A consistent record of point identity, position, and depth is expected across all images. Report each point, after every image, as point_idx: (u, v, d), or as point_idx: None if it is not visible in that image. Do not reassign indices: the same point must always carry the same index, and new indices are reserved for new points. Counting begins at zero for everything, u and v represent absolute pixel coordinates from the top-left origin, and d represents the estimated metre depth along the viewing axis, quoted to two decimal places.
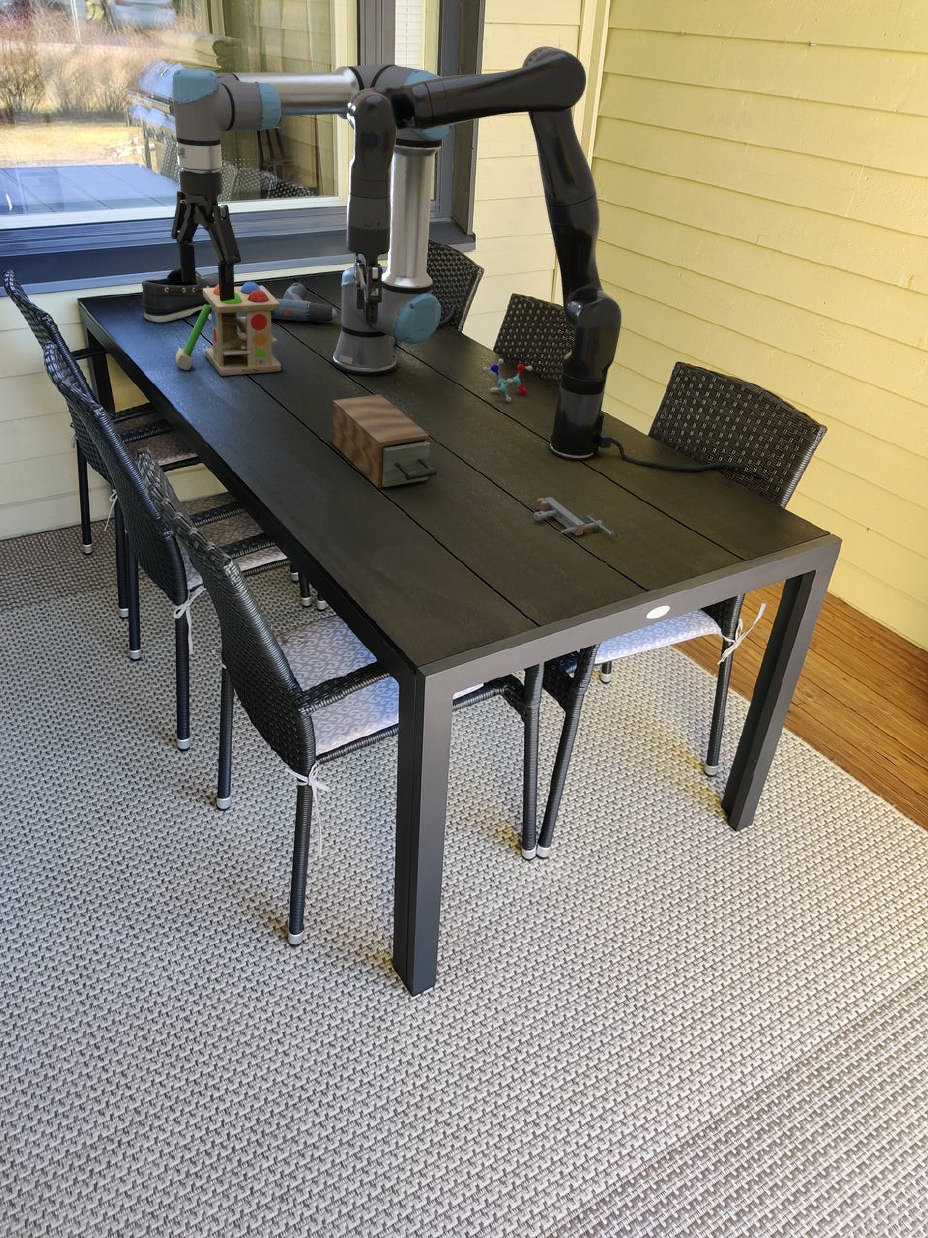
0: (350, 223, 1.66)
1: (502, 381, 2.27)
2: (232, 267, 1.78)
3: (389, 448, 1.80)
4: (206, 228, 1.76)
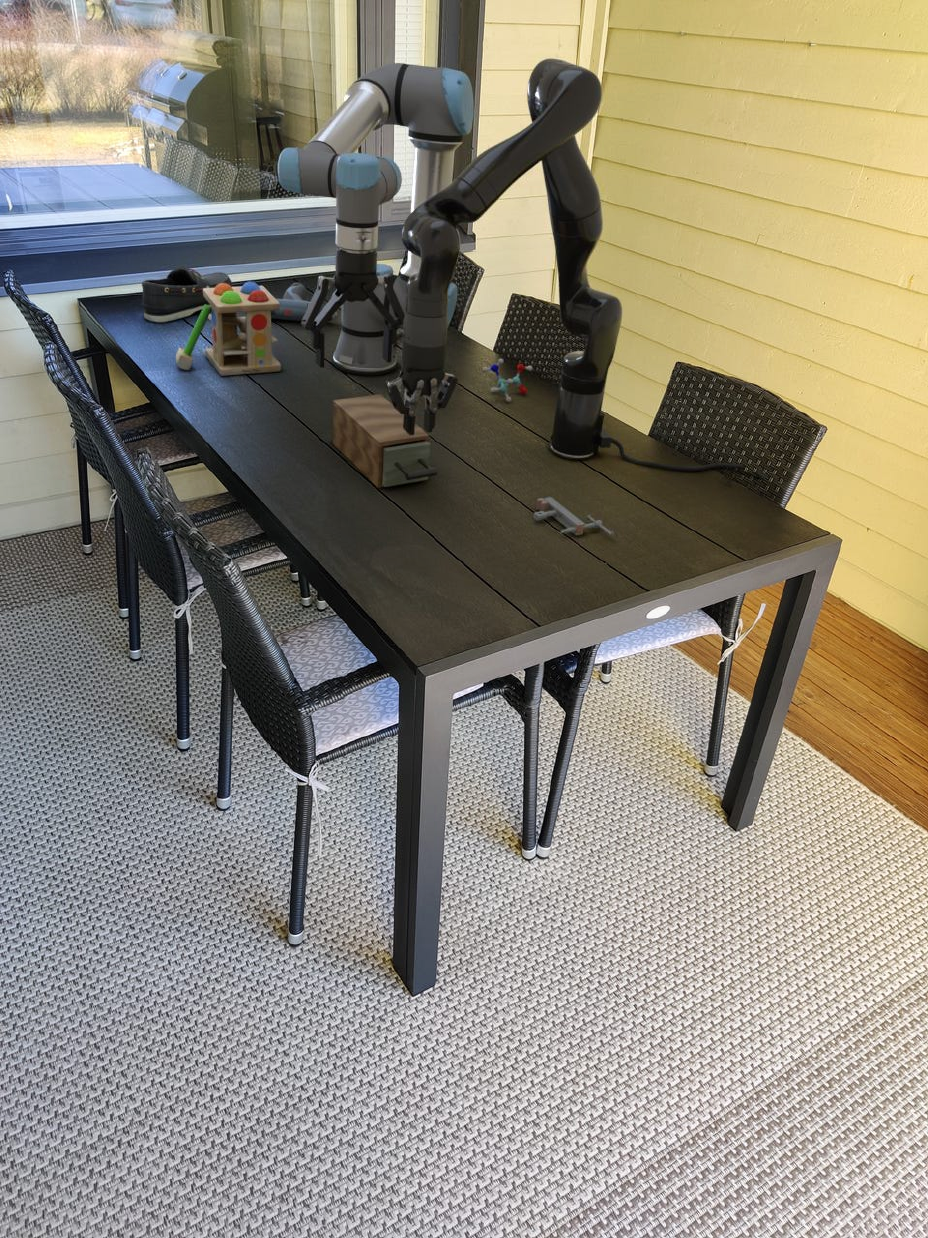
0: None
1: (502, 381, 2.27)
2: None
3: (389, 448, 1.80)
4: (376, 301, 1.83)
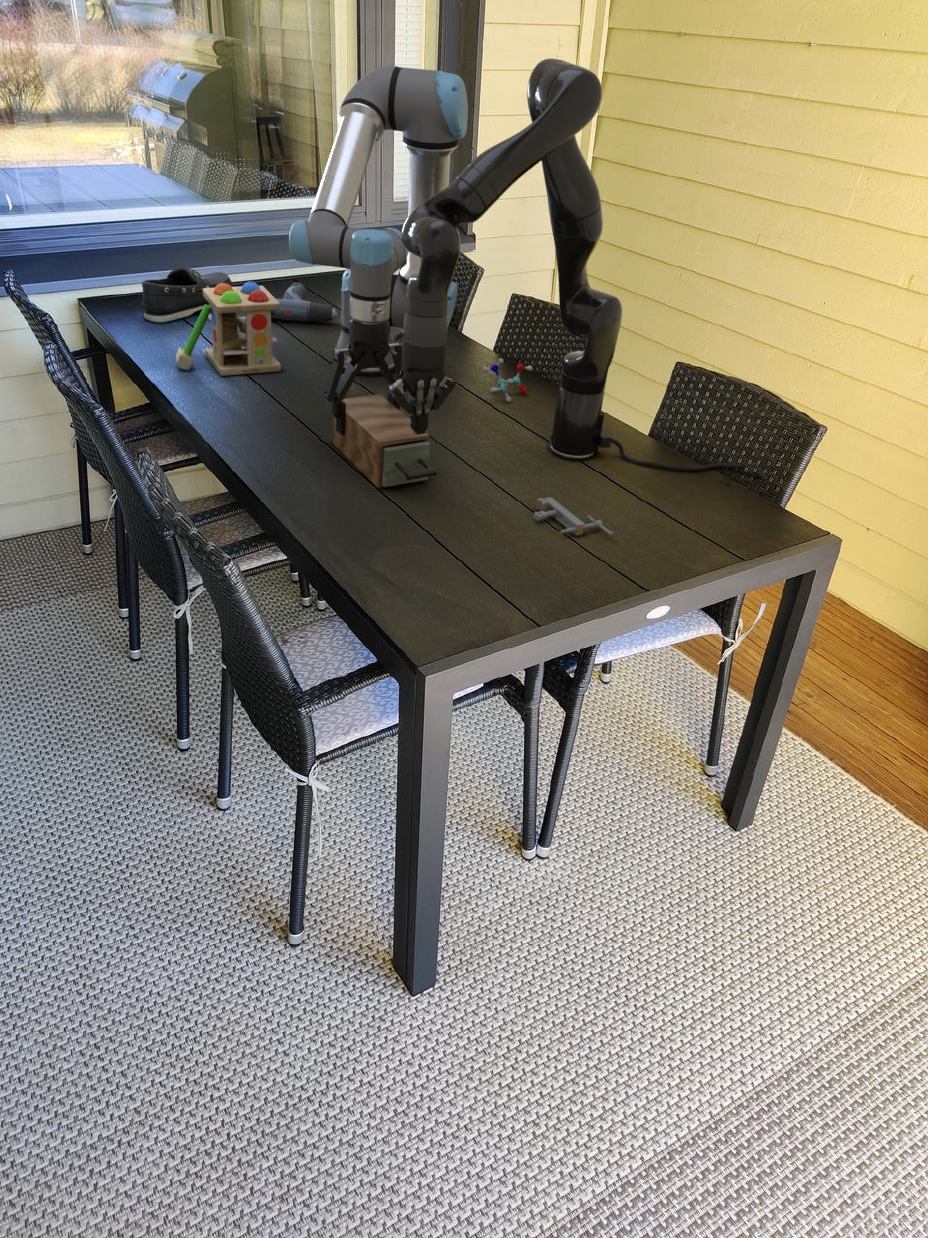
0: None
1: (502, 381, 2.27)
2: None
3: (389, 448, 1.80)
4: (386, 368, 1.90)
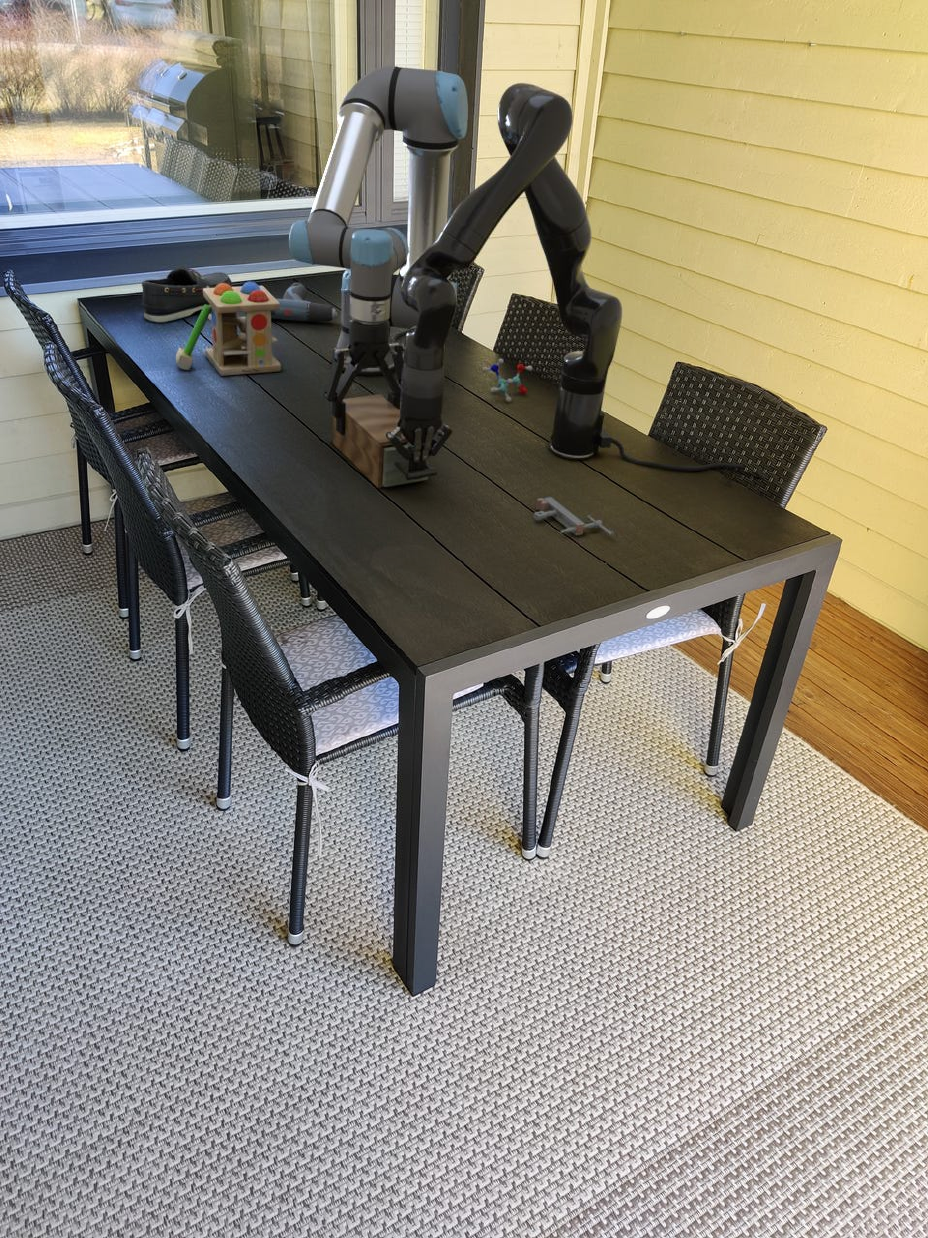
0: None
1: (502, 381, 2.27)
2: None
3: (389, 448, 1.80)
4: (386, 368, 1.90)
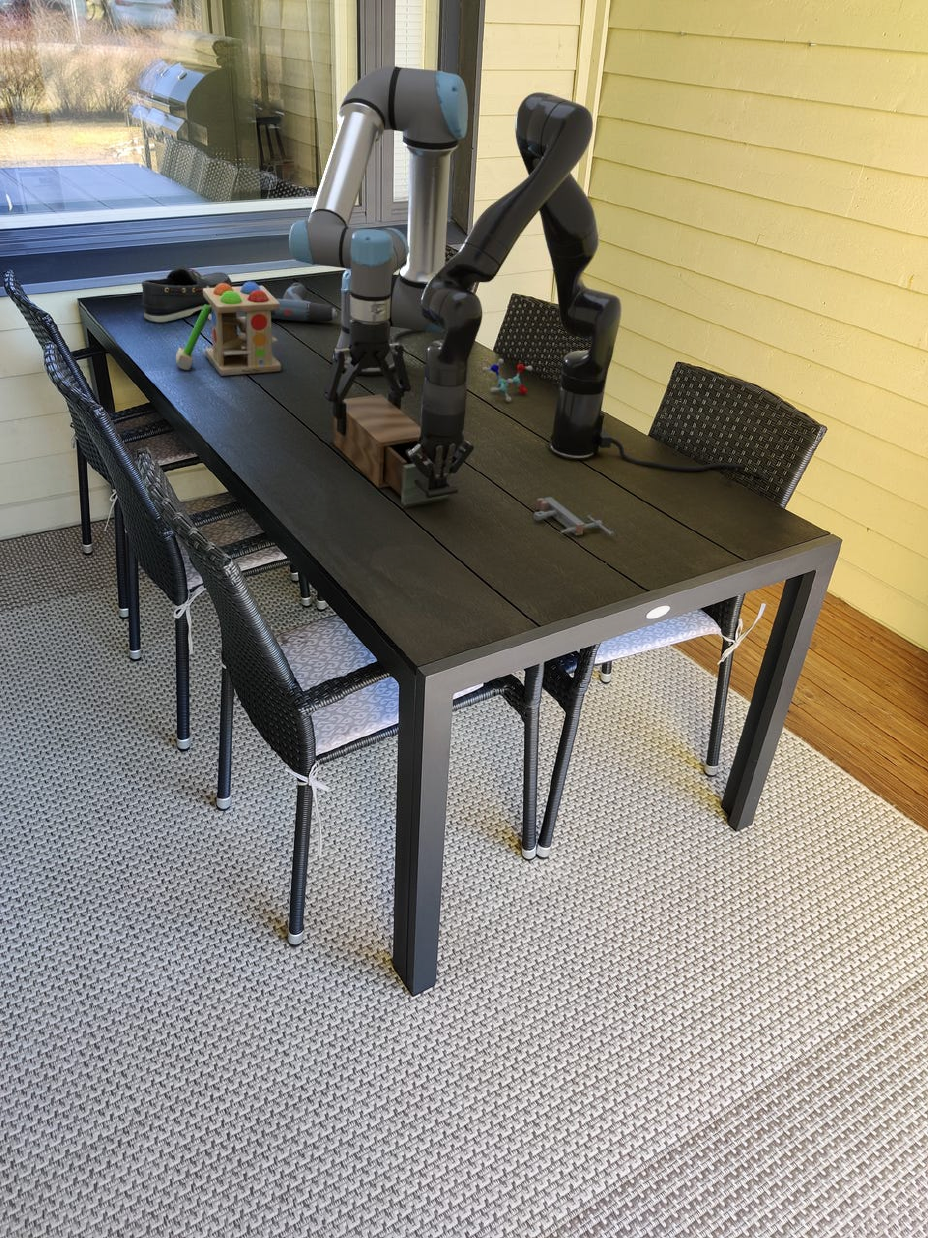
0: None
1: (502, 381, 2.27)
2: None
3: (408, 465, 1.75)
4: (386, 368, 1.90)
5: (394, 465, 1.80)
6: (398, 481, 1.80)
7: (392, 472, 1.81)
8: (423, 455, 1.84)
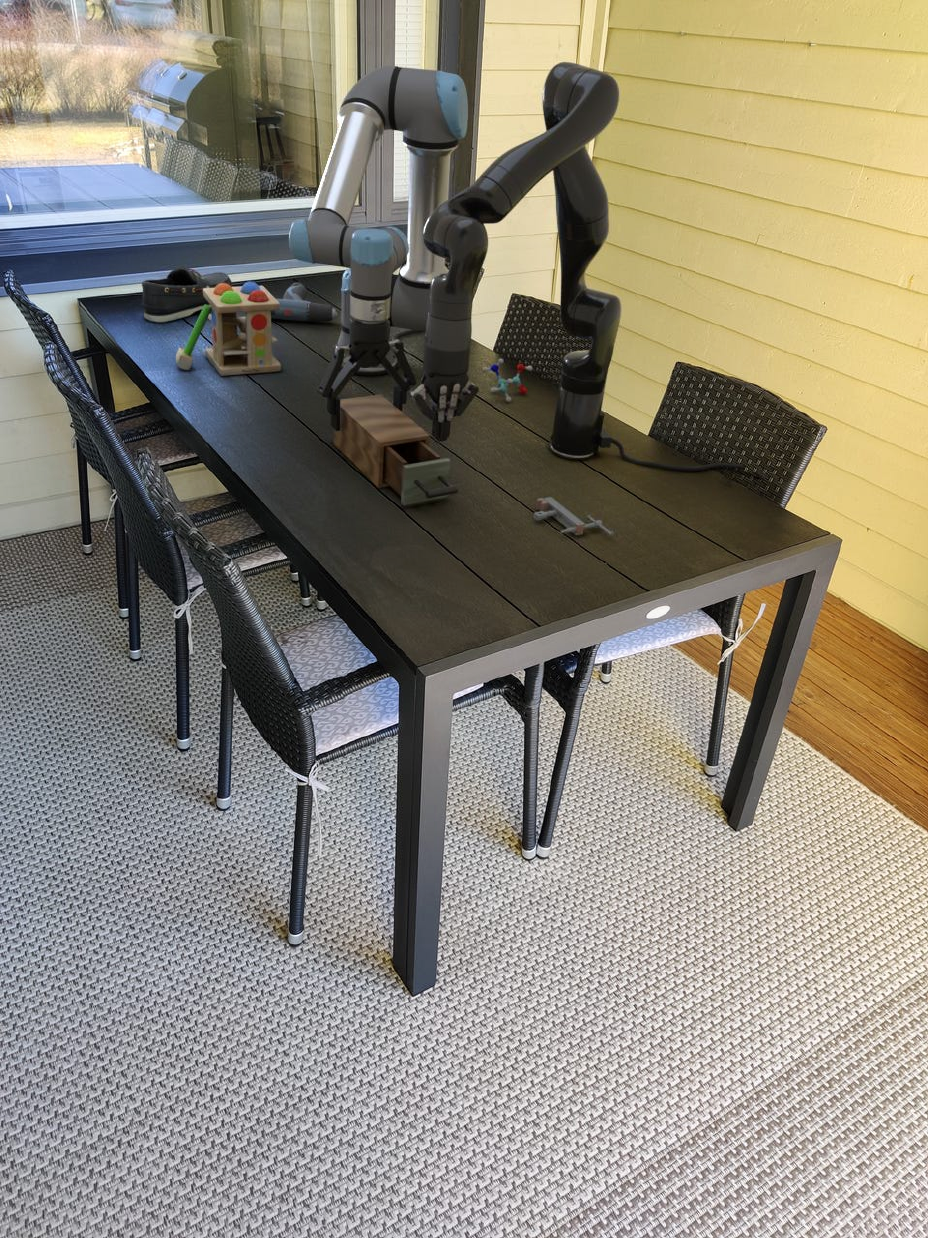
0: None
1: (502, 381, 2.27)
2: None
3: (408, 465, 1.75)
4: (388, 366, 1.90)
5: (394, 465, 1.80)
6: (398, 481, 1.80)
7: (392, 472, 1.81)
8: (423, 455, 1.84)
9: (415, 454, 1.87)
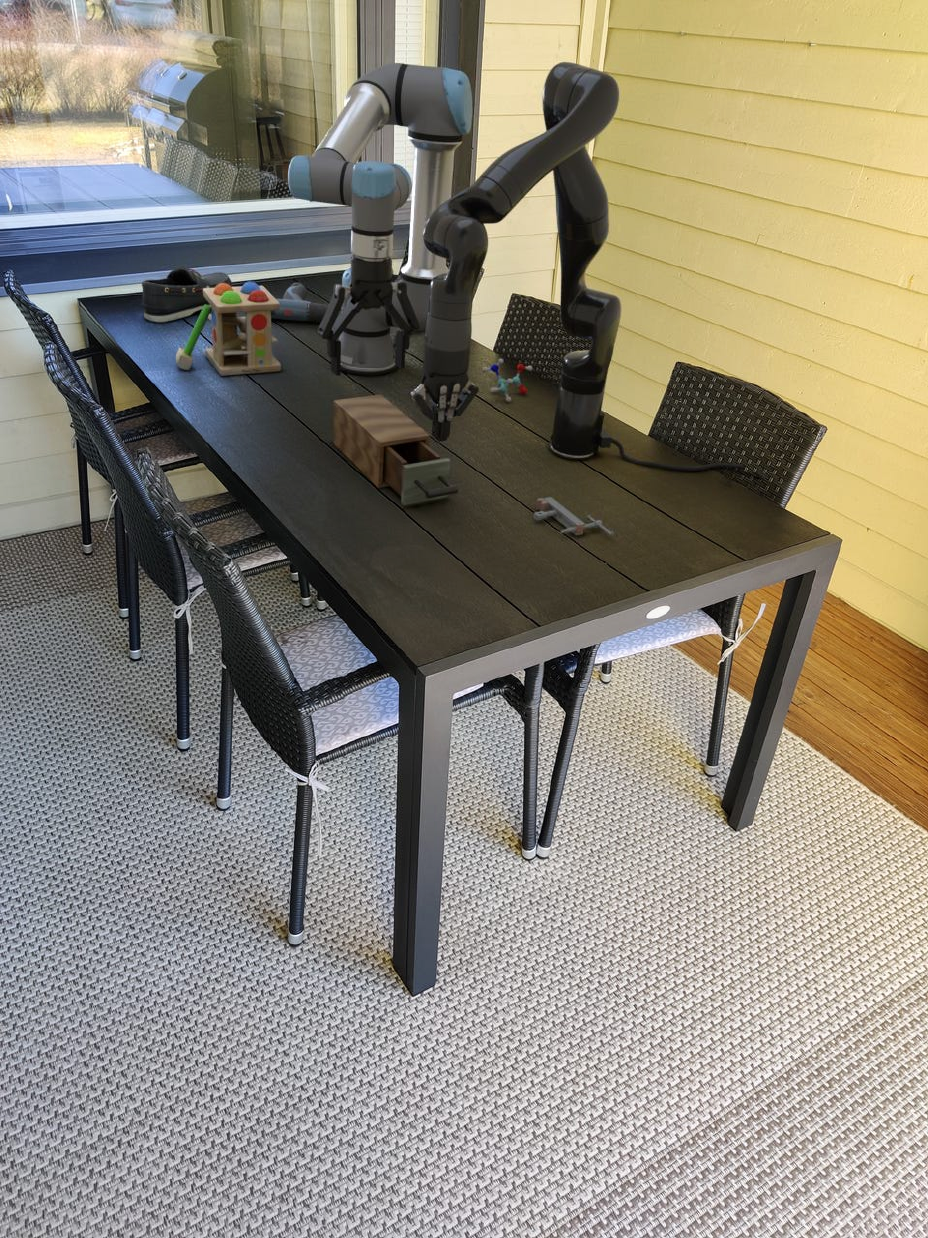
0: None
1: (502, 381, 2.27)
2: None
3: (408, 465, 1.75)
4: (391, 307, 1.83)
5: (394, 465, 1.80)
6: (398, 481, 1.80)
7: (392, 472, 1.81)
8: (423, 455, 1.84)
9: (415, 454, 1.87)
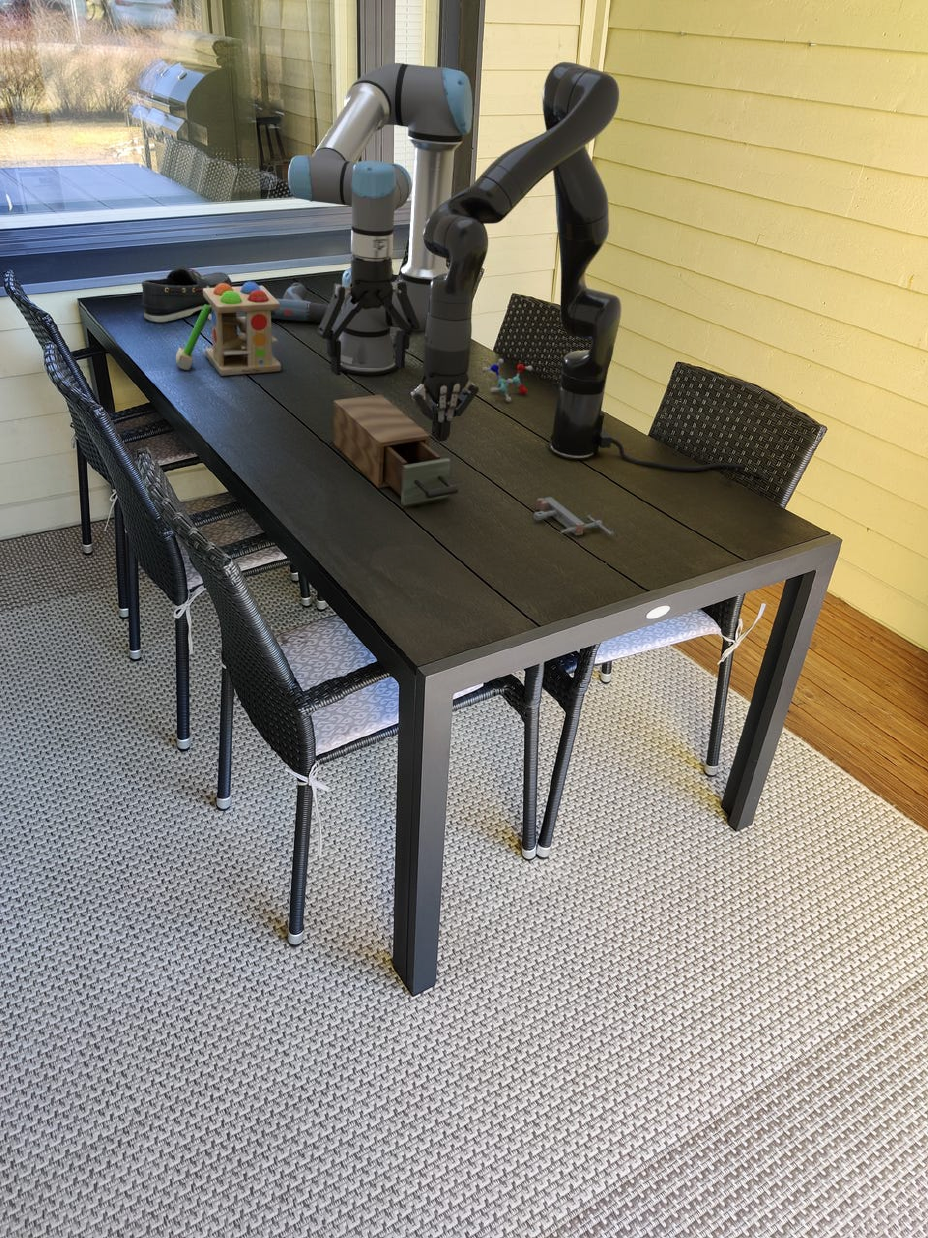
0: None
1: (502, 381, 2.27)
2: None
3: (408, 465, 1.75)
4: (391, 307, 1.83)
5: (394, 465, 1.80)
6: (398, 481, 1.80)
7: (392, 472, 1.81)
8: (423, 455, 1.84)
9: (415, 454, 1.87)
